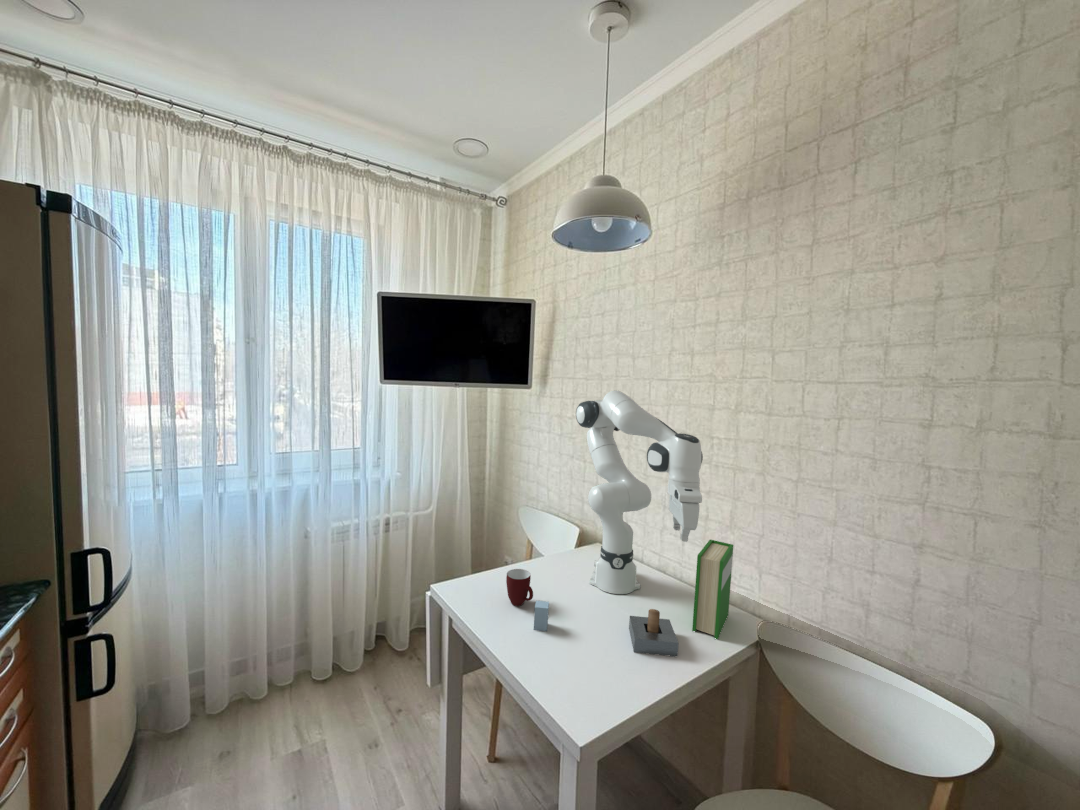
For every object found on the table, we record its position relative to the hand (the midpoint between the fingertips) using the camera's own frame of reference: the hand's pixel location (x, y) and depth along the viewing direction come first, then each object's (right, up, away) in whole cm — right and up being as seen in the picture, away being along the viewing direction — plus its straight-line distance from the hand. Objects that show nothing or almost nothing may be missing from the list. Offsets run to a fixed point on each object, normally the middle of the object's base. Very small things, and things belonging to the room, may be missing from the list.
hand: (680, 535), depth 128 cm
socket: (-9, -31, -2) cm, 32 cm away
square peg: (-42, -29, +3) cm, 51 cm away
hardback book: (+13, -32, +10) cm, 36 cm away
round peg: (-9, -31, -2) cm, 32 cm away
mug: (-48, -28, +16) cm, 58 cm away
